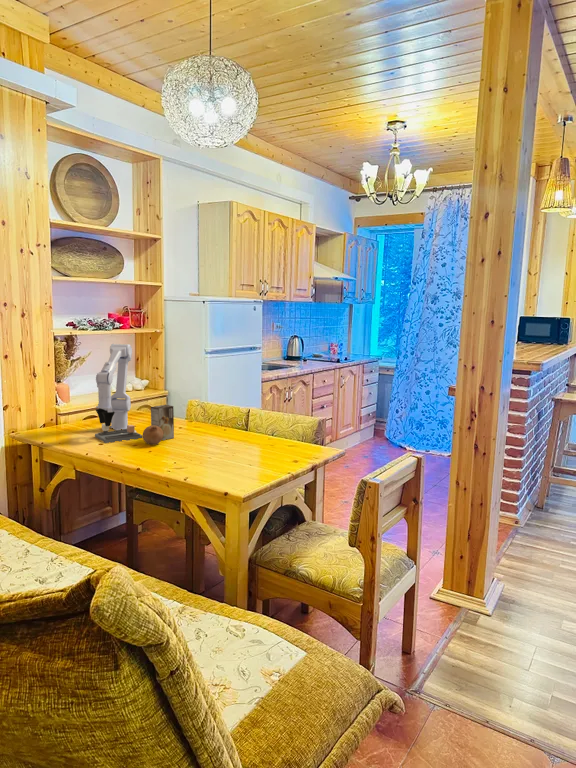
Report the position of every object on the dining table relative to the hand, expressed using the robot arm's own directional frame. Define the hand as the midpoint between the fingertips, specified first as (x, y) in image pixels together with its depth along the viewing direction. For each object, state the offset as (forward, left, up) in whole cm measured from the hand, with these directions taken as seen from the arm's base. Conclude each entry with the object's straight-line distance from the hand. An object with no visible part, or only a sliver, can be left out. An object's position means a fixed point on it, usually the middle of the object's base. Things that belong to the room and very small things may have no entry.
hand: (105, 424), depth 260 cm
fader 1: (0, 0, -5) cm, 5 cm away
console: (+4, +5, -6) cm, 9 cm away
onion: (+24, +14, -7) cm, 29 cm away
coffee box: (+17, +22, -7) cm, 29 cm away
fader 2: (+9, +9, -5) cm, 14 cm away
